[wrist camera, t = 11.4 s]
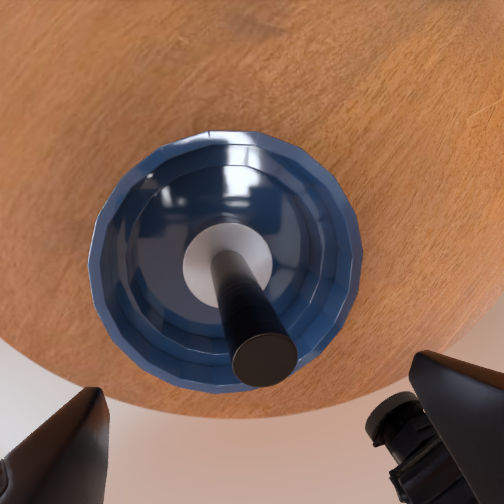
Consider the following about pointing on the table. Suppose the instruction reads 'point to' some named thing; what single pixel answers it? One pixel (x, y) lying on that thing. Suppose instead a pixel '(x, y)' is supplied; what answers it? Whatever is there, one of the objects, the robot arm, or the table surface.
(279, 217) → the bowl
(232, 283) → the paper towel holder
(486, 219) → the table surface
